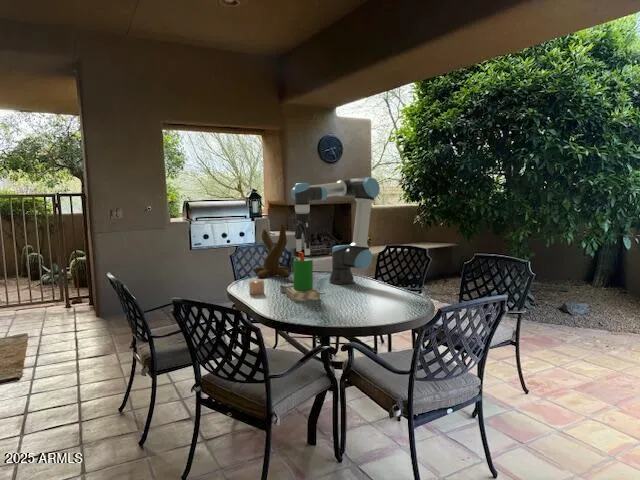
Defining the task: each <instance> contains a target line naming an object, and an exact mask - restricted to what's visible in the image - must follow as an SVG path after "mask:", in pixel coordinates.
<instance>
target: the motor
mask: <svg viewBox="0 0 640 480" xmlns="http://www.w3.org/2000/svg"><path fill="white" fill-rule="evenodd" d="M297 254H298V257H299V258H294V259H293V284H294V290H300V291H306V290H312V289H313V288H314V286H313V285H314V284H313V283H314V282H313V281H314V280H313V278H314V277H313V276H314V275H313V271H314V270H313V269H314V267H313V266H314V264H313V262H314V260H313V259H309V260H305V252H302V251H298V253H297Z"/></svg>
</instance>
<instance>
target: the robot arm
mask: <svg viewBox="0 0 640 480" xmlns="http://www.w3.org/2000/svg"><path fill="white" fill-rule="evenodd" d="M380 190H381V189H380V183H379V182H378V180H377V179H376V178H374V177H369V176H367V177H366V176H365V177H351V178H347V179H340V180H338V181H336V182H331V183H322V184H314V185H310V183H308V182H298V183H295V184H294V187H293V188H292V189H291V190H290V197H291V199H292V200H294V210H295V217H294V220H295V224H296V225H295V231H294V238H295V241H296V242H295V243H296V245H295V246H296V247H295V249H296V250H295V251H296V252H298V253H299V252H302V251H303V250H302V249H303V247H302V235H303V239H304V241H303V244H304V256H311V242H312V235H311V230H310V229H311V228H310V222H307V221H310V220H311V218H310V217H311V216H310V211H311V209H310V207H311V205H310V202H318V201H319V202H321V201H325V200H326V199H327V198H329V197H334V196H335V197H336V196H338V197H352V198H354V201H356V207H355V217H354V219H355V220H354V227H353V235H352V237H353V238H352V242H351V243H350V244H341V245H335V246H332V251H331V264H332V265H331V267H332V268H331V269H332V270H331V272H330V276H329V283H330V284H333V285H349V284H350V285H351V284H353V283H354V281H355V280H354V279H355V278H354V275H353V273H352V268H353V269H357V270H365V269H367V268H368V267H369V266H370V265H371V263H372V261H373V254H372V252H371V251H370V245H368V237H369V229H370V219H371V212H372V211H371V210H372V204H373V203H374V202H375V198H377V197H378V195H379V194H380V192H381V191H380Z"/></svg>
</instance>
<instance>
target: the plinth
mask: <svg viewBox="0 0 640 480" xmlns="http://www.w3.org/2000/svg"><path fill="white" fill-rule="evenodd" d="M285 294H286V295H285V296H287V297H288V298H289V299H290V300H291V301H293V302H305V301H317V300H320V298H321V292H320V290H317V289H316V288H314V287H313V289H312V290H306V291H300V290H294V287H289V288H286V293H285Z"/></svg>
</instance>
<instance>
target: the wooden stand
mask: <svg viewBox="0 0 640 480" xmlns="http://www.w3.org/2000/svg"><path fill="white" fill-rule="evenodd" d="M278 235H279V236H278V239H277V241H276V244H275V243H274V242H273V240H272V238H271V237H270V235H269V233H268V231H267V230H266V228H263V229H262V233H261V240H262V242H263V244H264V245H265V247H266V249H267V251H268V254H267V256H266V257H265V258H264V262H263V266H257V267H255V268H253V272H254V273H256V276H257V278H262V279H266V277H267V278H269V277H268V276H270V277H272V276H271V275H279V276H284V277H283V278H286V277H290V276H291V273H290V271H291V270H290V268H289V267H287V266H284V265H283V266H282V265H280V263H279V262H280V258H282V256H283V253H284V249H285V248H286V247H287V243H288V240H287V232H286V226H285V224H284V223H281V224H280V230H279V233H278ZM279 276H278V277H279Z"/></svg>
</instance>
